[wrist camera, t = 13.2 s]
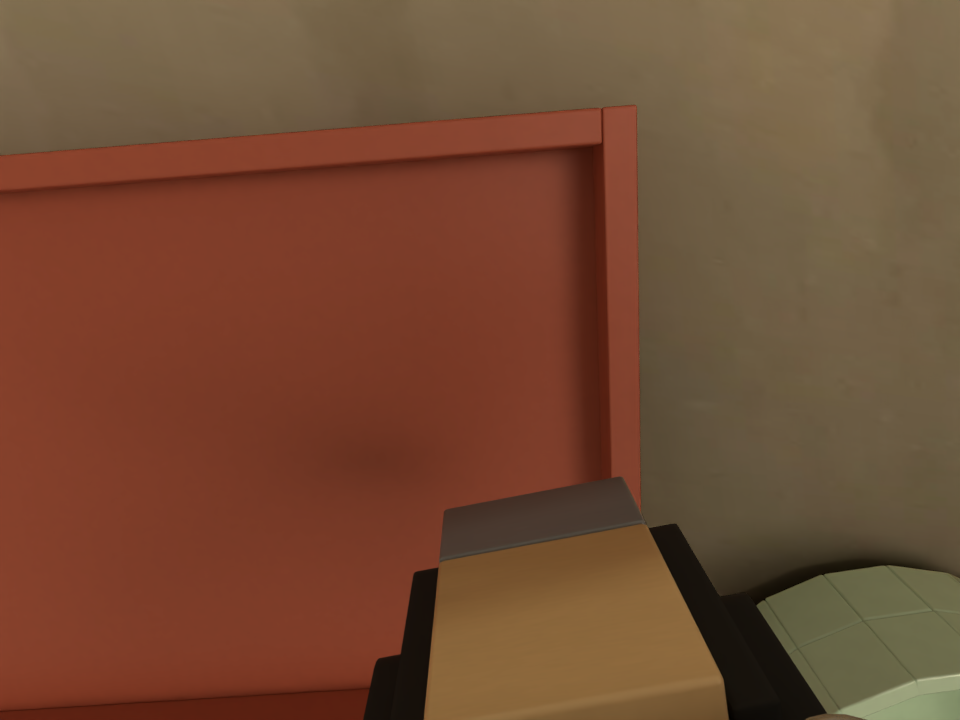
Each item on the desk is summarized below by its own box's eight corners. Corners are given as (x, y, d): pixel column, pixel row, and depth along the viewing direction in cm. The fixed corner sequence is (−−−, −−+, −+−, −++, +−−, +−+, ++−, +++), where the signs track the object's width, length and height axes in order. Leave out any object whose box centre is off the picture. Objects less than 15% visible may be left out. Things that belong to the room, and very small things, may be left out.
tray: (618, 113, 17) (637, 103, 15) (627, 678, 21) (643, 729, 19) (-629, 212, 17) (-775, 217, 15) (-357, 739, 22) (-442, 795, 20)
